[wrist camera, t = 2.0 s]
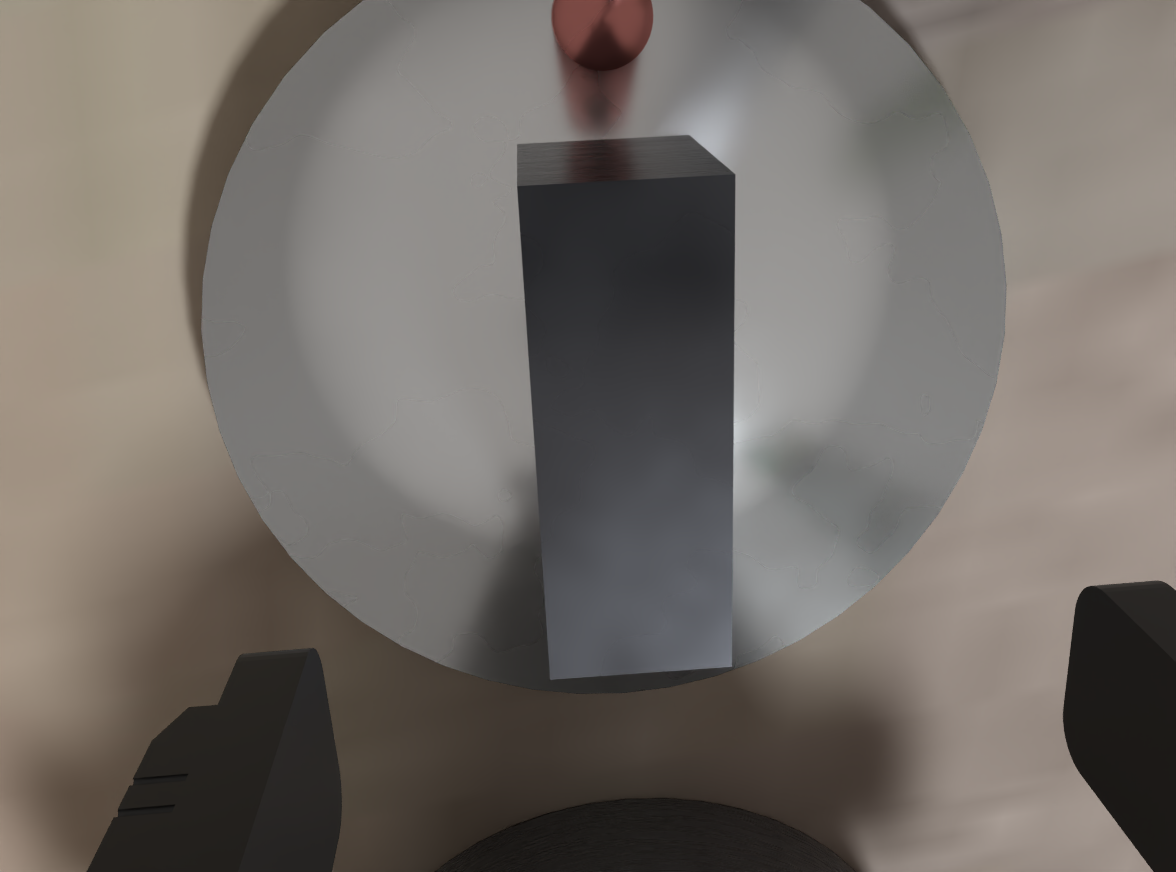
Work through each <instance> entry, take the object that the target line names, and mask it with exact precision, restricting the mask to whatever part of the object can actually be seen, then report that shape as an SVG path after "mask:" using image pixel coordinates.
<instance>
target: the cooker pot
mask: <svg viewBox="0 0 1176 872" xmlns="http://www.w3.org/2000/svg"><path fill="white" fill-rule="evenodd" d="M436 872H856V871H855V870H853V869H852V868H851V867H850V866H849V865H848V864H846V863H845V862H844V861H843V860H842V859H841V858H839V857H838V856H837V855H836V854H835V853H834V852H832V851H831V850H829V849H828V848H826V847H824V846H823V845H821V844H820V843H818V842H817V841H815V840H814V839H812V838H810V837H809V836H807V835H806V834H804V833H801V832H799V831H797V830H795V829H793V828H791V827H788V826H786V825H784V824H782V823H780V822H778V821H776V820H773V819H770V818H767V817H764V816H760V815H757V814H754V813H751V812H748V811H745V810H742V809H738V808H733V807H727V806H722V805H717V804H712V803H707V802H700V801H688V800H676V799H626V800H618V801H610V802H602V803H595V804H587V805H582V806H578V807H574V808H570V809H566V810H561V811H557V812H553V813H549V814H546V815H543V816H540V817H537V818H534V819H532V820H529V821H526V822H523V823H520V824H518V825H515V826H512V827H510V828H508V829H506V830H504V831H501V832H499V833H497V834H495V835H493V836H491V837H489V838H487V839H485V840H483V841H481V842H479V843H477V844H475V845H474V846H472V847H471V848H469V849H467V850H466V851H464V852H463V853H461V854H460V855H458V856H456V857H455V858H453V859H452V860H450V861H449V862H447V863H446V864H445V865H443V866H442V867H441V868H440V869H439V870H437V871H436Z"/></svg>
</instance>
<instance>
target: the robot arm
mask: <svg viewBox="0 0 1176 872" xmlns="http://www.w3.org/2000/svg"><path fill="white" fill-rule="evenodd" d="M1063 724H1064V732H1065V738H1066V742H1067V746H1068V749H1069V752H1070V755H1071V757H1072V760H1073V762H1074V764H1075V766H1076V768H1077V769H1078V771H1079V772H1080V774H1081V775H1082V777H1083V778H1084V779H1085V781H1086V782H1087V783H1088V785H1089V786H1090V787H1091V789H1092V790H1093V791H1094V793H1095V794H1096V795H1097V797H1098V798H1099V799H1100V801H1101V802H1102V803H1103V805H1104V806H1105V807H1106V809H1107V810H1108V811H1109V813H1110V814H1111V815H1112V817H1113V818H1114V819H1115V821H1116V822H1117V823H1118V825H1119V826H1120V827H1121V829H1122V830H1123V831H1124V833H1125V834H1126V835H1127V837H1128V838H1129V839H1130V841H1131V842H1132V844H1133V845H1134V846H1135V848H1136V849H1137V850H1138V852H1139V853H1140V854H1141V856H1142V857H1143V858H1144V860H1145V861H1146V862H1147V864H1148V865H1149V866H1150V868H1151V869H1152V870H1153V872H1176V590H1174V589H1173V588H1172V587H1171V586H1170V585H1168V584H1167V583H1165V582H1162V581H1146V582H1134V583H1122V584H1109V585H1097V586H1089V587H1086V588H1085V589H1083V591H1082V592H1081V593H1080V595H1079V597H1078V600H1077V603H1076V608H1075V615H1074V623H1073V632H1072V640H1071V649H1070V657H1069V666H1068V674H1067V683H1066V691H1065V700H1064V709H1063ZM133 779H134V784H133V786H129V788H128V790H127V792H126V794H125V796H124V798H123V800H122V802H121V804H120V806H119V808H118V817H114V818H113V820H112V822H111V824H110V826H109V828H108V830H107V832H106V834H105V836H104V838H103V840H102V842H101V844H100V846H99V848H98V850H97V852H96V854H95V856H94V858H93V860H92V862H91V864H90V866H89V868H88V870H87V872H332V867H333V863H334V858H335V853H336V848H337V844H338V839H339V833H340V826H341V811H342V794H341V779H340V771H339V764H338V758H337V752H336V746H335V740H334V734H333V728H332V722H331V716H330V710H329V704H328V698H327V692H326V686H325V680H324V674H323V669H322V664H321V660H320V657H319V654H318V652H317V651H316V650H315V649H314V648H309V649H296V650H284V651H272V652H260V653H248V654H242V655H240V657H239V658H238V660H237V661H236V664H235V666H234V668H233V671H232V673H231V675H230V678H229V680H228V682H227V685H226V687H225V689H224V692H223V694H222V696H221V699H220V701H219V703H218V705H212V706H200V707H189V708H187V709H186V710H185V711H184V712H183V713H182V714H181V715H180V716H179V717H178V718H177V719H175V720H174V721H173V722H172V723H171V724H170V725H169V726H168V727H167V728H166V729H164V730H163V731H162V732H161V733H160V734H159V735H158V736H157V737H156V738H155V739H154V740H152V742H151V744H150V746H149V748H148V750H147V752H146V754H145V756H144V758H143V760H142V762H141V764H140V766H139V768H138V770H137V772H136V774H135V776H134V778H133Z"/></svg>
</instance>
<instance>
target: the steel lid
mask: <svg viewBox="0 0 1176 872" xmlns="http://www.w3.org/2000/svg"><path fill="white" fill-rule="evenodd" d="M1005 310H1006V275H1005V265H1004V255H1003V245H1002V234H1001V230H1000V226H999V222H998V218H997V213H996V209H995V205H994V201H993V197H992V193H991V189H990V184H989V182H988V179H987V177H986V174H985V172H984V169H983V166H982V164H981V161H980V159H979V156H978V154H977V151H976V149H975V146H974V144H973V141H972V139H971V136H970V134H969V132H968V131H967V129H966V127H965V125H964V124H963V122H962V120H961V118H960V117H959V115H958V113H957V111H956V110H955V108H954V106H953V104H952V103H951V101H950V99H949V97H948V96H947V94H946V92H945V90H944V89H943V87H942V86H941V85H940V83H939V82H938V81H937V80H936V78H935V77H934V76H933V74H932V73H931V72H930V71H929V69H928V68H927V67H926V66H925V64H924V63H923V62H922V60H921V59H920V58H919V57H918V55H917V54H916V53H915V52H914V50H913V49H912V48H911V46H910V45H909V44H908V43H907V42H906V41H905V40H904V39H902V38H901V37H900V36H899V35H898V34H897V33H896V32H895V31H894V30H893V29H892V28H891V27H890V26H889V25H888V24H887V23H886V22H885V21H884V20H882V19H881V18H880V17H879V16H878V15H877V14H876V13H875V12H874V11H873V10H872V9H871V8H870V7H869V6H867V5H866V4H864V3H863V2H862V1H860V0H363V1H362V2H360V3H359V4H358V5H357V6H356V7H354V8H353V9H352V10H351V11H350V12H348V13H347V14H346V15H345V16H344V17H342V18H341V19H340V20H339V21H337V22H336V23H335V24H334V25H333V26H331V27H330V28H329V29H328V30H327V31H325V32H324V33H323V34H322V35H321V36H320V38H319V39H318V40H317V41H316V42H315V43H314V44H313V45H312V46H311V48H310V49H309V50H308V51H307V52H306V53H305V54H304V55H303V56H302V57H301V59H300V60H299V61H298V62H297V63H296V64H295V65H294V66H293V67H292V68H291V70H290V71H289V72H288V73H287V74H286V75H285V76H284V78H283V79H282V81H281V82H280V84H279V85H278V87H277V88H276V90H275V91H274V93H273V94H272V96H271V97H270V99H269V100H268V101H267V103H266V104H265V106H264V107H263V109H262V110H261V112H260V113H259V115H258V116H257V118H256V119H255V121H254V122H253V124H252V126H251V128H250V130H249V132H248V134H247V136H246V138H245V140H244V142H243V145H242V147H241V149H240V151H239V153H238V155H237V157H236V159H235V161H234V163H233V165H232V167H231V169H230V171H229V173H228V176H227V180H226V183H225V186H224V189H223V192H222V195H221V198H220V202H219V205H218V208H217V211H216V214H215V217H214V220H213V224H212V227H211V233H210V239H209V245H208V251H207V257H206V263H205V269H204V275H203V290H202V329H201V332H202V341H203V350H204V359H205V367H206V376H207V384H208V388H209V391H210V395H211V399H212V403H213V407H214V411H215V415H216V419H217V423H218V427H219V430H220V433H221V436H222V438H223V441H224V443H225V446H226V448H227V451H228V453H229V456H230V458H231V460H232V463H233V465H234V468H235V470H236V473H237V475H238V478H239V479H240V481H241V483H242V485H243V486H244V488H245V490H246V492H247V493H248V495H249V497H250V499H251V500H252V502H253V504H254V506H255V507H256V509H257V511H258V513H259V514H260V516H261V518H262V520H263V521H264V522H265V524H266V525H267V526H268V528H269V529H270V530H271V532H272V533H273V534H274V536H275V537H276V538H277V540H278V541H279V542H280V544H281V545H282V546H283V548H284V549H285V550H286V551H287V553H288V554H289V555H290V557H291V558H292V559H293V560H294V561H295V562H296V563H297V564H298V565H299V566H300V567H301V568H302V569H303V570H304V571H305V572H306V573H307V574H308V575H309V577H310V578H311V579H312V580H313V581H314V582H315V583H316V584H317V585H318V586H319V587H320V588H321V589H322V590H323V591H324V592H325V593H326V594H328V595H329V596H330V597H331V598H333V599H334V600H335V601H337V602H338V603H339V604H340V605H342V606H343V607H344V608H345V609H347V610H348V611H349V612H350V613H352V614H353V615H354V616H355V617H357V618H358V619H359V620H360V621H362V622H363V623H365V624H366V625H368V626H370V627H371V628H373V629H375V630H376V631H378V632H379V633H381V634H383V635H384V636H386V637H388V638H389V639H391V640H392V641H394V642H396V643H397V644H399V645H401V646H402V647H405V648H407V649H409V650H411V651H413V652H415V653H417V654H420V655H422V656H424V657H426V658H428V659H430V660H433V661H435V662H437V663H439V664H441V665H443V666H446V667H449V668H452V669H455V670H458V671H462V672H465V673H468V674H471V675H474V676H477V677H480V678H483V679H486V680H490V681H494V682H499V683H504V684H509V685H514V686H518V687H523V688H528V689H534V690H544V691H555V692H565V693H576V694H589V693H627V692H635V691H643V690H651V689H659V688H666V687H672V686H676V685H680V684H685V683H689V682H693V681H697V680H701V679H705V678H709V677H714V676H717V675H719V674H722V673H725V672H728V671H731V670H733V669H736V668H739V667H742V666H744V665H747V664H750V663H753V662H756V661H758V660H760V659H762V658H764V657H766V656H768V655H770V654H773V653H775V652H777V651H779V650H781V649H783V648H785V647H787V646H789V645H791V644H793V643H795V642H797V641H799V640H801V639H802V638H804V637H805V636H807V635H809V634H810V633H812V632H813V631H815V630H816V629H818V628H820V627H821V626H823V625H824V624H826V623H828V622H829V621H831V620H832V619H834V618H835V617H837V616H839V615H840V614H841V613H842V612H844V611H845V610H846V609H847V608H849V607H850V606H851V605H852V604H853V603H855V602H856V601H857V600H858V599H860V598H861V597H862V596H863V595H865V594H866V593H867V592H868V591H870V590H871V589H872V588H873V587H875V586H876V585H877V584H878V583H879V582H880V581H881V580H882V579H883V578H884V577H885V576H886V575H887V574H888V573H889V572H890V571H891V570H892V568H893V567H894V566H895V565H896V564H897V563H898V562H899V561H900V560H901V559H902V558H903V557H904V556H905V555H906V554H907V553H908V552H909V551H910V550H911V548H912V547H913V546H914V545H915V543H916V542H917V541H918V539H919V538H920V537H921V536H922V534H923V533H924V532H925V530H926V529H927V528H928V527H929V525H930V524H931V523H932V521H933V520H934V519H935V518H936V516H937V515H938V513H939V512H940V510H941V508H942V507H943V505H944V503H945V502H946V500H947V499H948V497H949V495H950V494H951V492H952V490H953V489H954V487H955V485H956V484H957V482H958V480H959V479H960V477H961V475H962V474H963V471H964V469H965V467H966V465H967V462H968V460H969V458H970V456H971V453H972V451H973V449H974V447H975V445H976V442H977V440H978V438H979V436H980V433H981V431H982V428H983V425H984V422H985V419H986V415H987V412H988V409H989V406H990V402H991V399H992V396H993V393H994V389H995V386H996V382H997V376H998V370H999V365H1000V359H1001V353H1002V347H1003V341H1004V335H1005Z"/></svg>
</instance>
